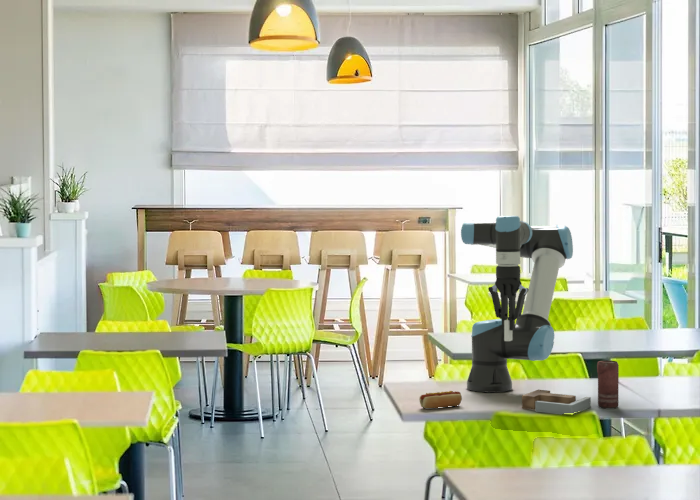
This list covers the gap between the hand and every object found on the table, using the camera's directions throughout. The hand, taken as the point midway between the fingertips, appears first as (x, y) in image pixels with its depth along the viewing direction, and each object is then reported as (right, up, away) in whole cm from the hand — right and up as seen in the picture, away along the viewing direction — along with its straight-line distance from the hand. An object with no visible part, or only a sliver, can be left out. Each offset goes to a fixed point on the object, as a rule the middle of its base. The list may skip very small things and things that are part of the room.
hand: (508, 340), depth 334 cm
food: (-22, -20, -6) cm, 30 cm away
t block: (+12, -20, -8) cm, 24 cm away
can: (+29, -20, -8) cm, 36 cm away
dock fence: (+15, -20, -11) cm, 27 cm away
